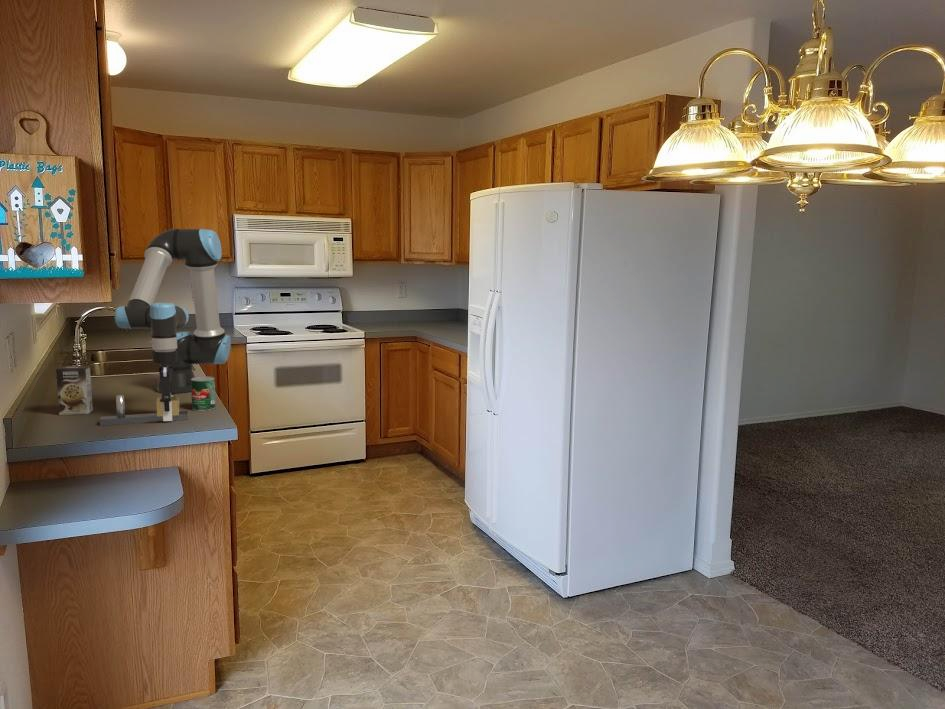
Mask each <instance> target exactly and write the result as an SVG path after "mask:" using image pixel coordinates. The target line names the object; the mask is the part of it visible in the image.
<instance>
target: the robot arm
mask: <svg viewBox="0 0 945 709" xmlns="http://www.w3.org/2000/svg"><path fill="white" fill-rule="evenodd" d="M222 251H223V250H222V245H221V240H220V237H219V236H218V233H217V232H215V231H214V230H212V229H205V228H169V229H167V230H164V231H162V232H161V233H159V234H157V235H156V236H155V237H154V238H153V239H152V240H151V241H150V242H149V243H148V245H147V246H146V249H145V251H144V254H143V255H144V262H143V264H142V267H141V269H140V272H139V274H138V277H137V280H136V282H135V284H134V287H133V290H132V292H131V295H130V297H129V300H128V302H127V304H126V305H123V306H118V307H116V309H115V311H114V321H115V324H116V326H117V327H118V328H120V329H129V330H134V329H137V330H138V329H139V330H140V329H142V330H143V329H145V330H146V329H147V330H149V329H150V333H151V335H150V336H151V340H149V344H151V347H152V348H151V349H152V350H153V351H152V362H153V363H155V364H160V367H159V368H158V373H159V376H158V381H157V384H156V391H157V392H158V393H161V397H162V400H160V402H162V407H163V421H162V422H170V421H171V422H172V402H171V397H174V395H175V394H179V393H180V394H182V393H189V392H192V390H191V379H192V378H195V377H196V376H195V373H194V370H193V365H223V364H225V363H226V362H227V361H228V360H229V357H230V353H231V346H232V342H231V340H232V339H231V336H230V335H228V334H225V333H226V332H225V328H223V327H222V326H221V324H220V323H221V322H220V316H219V313H220V312H219V306H218V304H219V303H218V295H217V294H218V293H217V284H216V276H215V267H216V266H218V261H220V260H221V259H222V256H223V253H222ZM176 260H177V261H178V260H179V261H184V265H185V267H186V268H187V269H188V270H189V271H190V280H191V286H192V287H191V289H192V296H193V297H192V298H193V304H194V305H193V306H194V313H195V322H196V329H195V330H194V331H193V334H192V332H191V331H189V330H188V331H187V330H185V331H177V329H181V328H183V327H184V326H186V324H188V322H189V318H190V315H189V313H188V310H187V309H186V308H184V307H183V306H180V305H175V304H174V303H172V302H155V303H154V301H156V300H155V299H156V297H157V294H158V292H159V289H160V286H161V284H162V281H163V278H164V276H165V273H166V271H167V268H168V267H170V266H171V264H172V262H173V261H176Z"/></svg>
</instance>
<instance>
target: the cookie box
mask: <svg viewBox="0 0 945 709" xmlns="http://www.w3.org/2000/svg"><path fill="white" fill-rule="evenodd" d="M55 371H56V387H57V388H56V389H57V398H58V399H57V401H58V402H57V404H58V415H59V416H66V415H67V416H68V415H88V414H90V413H91V412H92V411H94V408H93V394H92V377H91V375H92V374H91V365H61V366H58V367H57V368H55Z"/></svg>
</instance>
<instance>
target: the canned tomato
mask: <svg viewBox="0 0 945 709" xmlns="http://www.w3.org/2000/svg"><path fill="white" fill-rule="evenodd" d="M191 390H192V391H191V406H192V407H191V408H192V411H194V410H195V412H206V411H205V410H209V411H212V410H211V409H213V410H215V409H216V406H217V405H216V404H217V403H216V402H217V401H216V381H215V377H214V376H195V378H192V379H191ZM214 408H215V409H214Z"/></svg>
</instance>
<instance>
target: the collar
mask: <svg viewBox="0 0 945 709" xmlns="http://www.w3.org/2000/svg"><path fill="white" fill-rule="evenodd" d="M171 399H172V400H171V402H172V416H173V415H179V412H180V411H181V410H180V409H181V408H180V397H179V396H178V395H177V396H173V397H171ZM160 400H162V396H160V397H157V399H156V402H155V403H156V413H157V417H158V416H163V407H162V402H160Z"/></svg>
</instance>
